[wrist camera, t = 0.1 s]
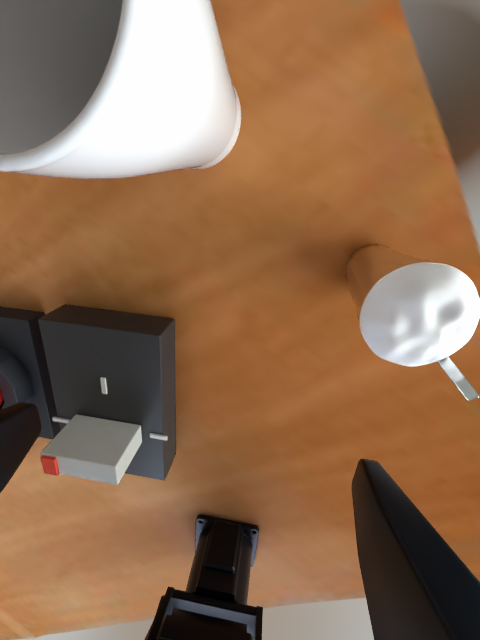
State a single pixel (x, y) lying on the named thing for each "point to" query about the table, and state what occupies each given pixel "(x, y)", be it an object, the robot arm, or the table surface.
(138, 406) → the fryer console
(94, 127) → the drinking glass
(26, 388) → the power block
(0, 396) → the power button
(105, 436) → the grey block red tip
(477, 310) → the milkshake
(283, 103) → the table surface
